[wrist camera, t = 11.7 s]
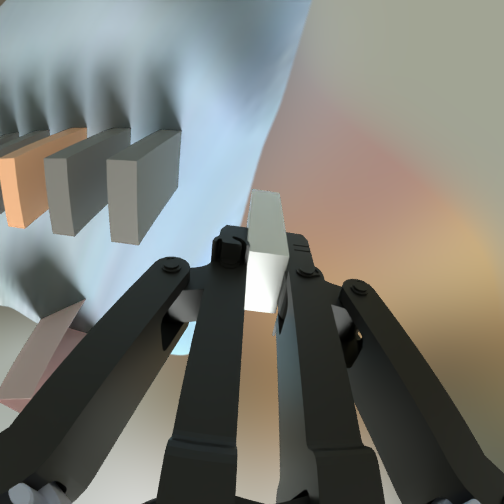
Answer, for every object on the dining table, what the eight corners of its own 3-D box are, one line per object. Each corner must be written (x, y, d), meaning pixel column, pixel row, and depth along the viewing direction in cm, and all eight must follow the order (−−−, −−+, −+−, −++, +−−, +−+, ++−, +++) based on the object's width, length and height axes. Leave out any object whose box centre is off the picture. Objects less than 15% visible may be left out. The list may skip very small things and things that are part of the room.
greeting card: (42, 323, 36) (-4, 402, 23) (29, 283, 32) (-31, 366, 19) (108, 342, 36) (71, 437, 24) (100, 302, 33) (47, 405, 20)
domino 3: (158, 185, 25) (111, 241, 17) (160, 129, 23) (106, 159, 14) (177, 187, 25) (138, 245, 17) (181, 130, 23) (136, 161, 14)
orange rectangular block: (86, 127, 22) (14, 158, 14) (88, 179, 25) (24, 228, 16) (71, 128, 22) (-3, 158, 14) (73, 178, 25) (8, 226, 16)
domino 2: (112, 181, 25) (52, 233, 16) (112, 128, 22) (43, 158, 14) (130, 183, 25) (74, 236, 17) (130, 128, 23) (66, 158, 14)
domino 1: (39, 178, 25) (-25, 222, 16) (36, 130, 22) (-36, 162, 13) (52, 178, 25) (-13, 224, 16) (49, 129, 22) (-24, 161, 14)
